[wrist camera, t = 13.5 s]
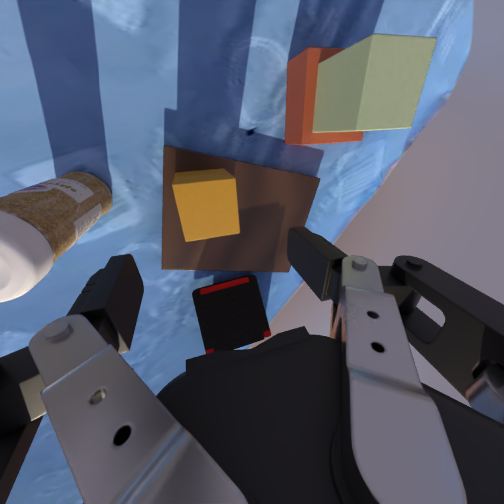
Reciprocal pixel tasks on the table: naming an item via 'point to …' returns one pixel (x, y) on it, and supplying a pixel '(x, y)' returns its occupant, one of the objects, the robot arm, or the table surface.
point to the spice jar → (45, 226)
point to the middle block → (372, 84)
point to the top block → (206, 203)
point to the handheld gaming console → (231, 314)
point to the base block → (308, 100)
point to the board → (250, 216)
